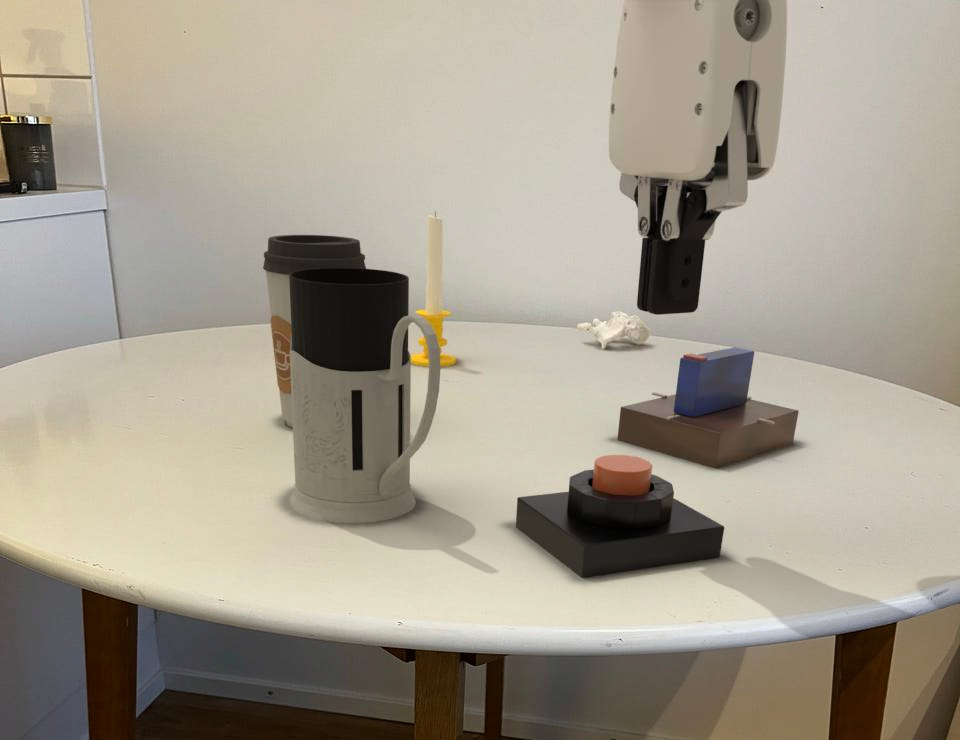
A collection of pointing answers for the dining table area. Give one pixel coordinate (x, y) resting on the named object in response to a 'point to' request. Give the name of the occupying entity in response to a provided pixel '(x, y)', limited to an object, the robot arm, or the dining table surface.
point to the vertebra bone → (617, 328)
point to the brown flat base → (707, 430)
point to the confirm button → (622, 475)
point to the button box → (617, 528)
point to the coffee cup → (278, 264)
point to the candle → (434, 294)
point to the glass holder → (354, 393)
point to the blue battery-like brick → (713, 381)
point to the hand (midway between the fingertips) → (666, 310)
